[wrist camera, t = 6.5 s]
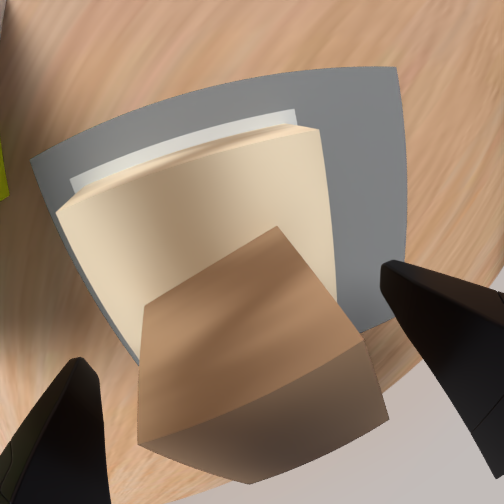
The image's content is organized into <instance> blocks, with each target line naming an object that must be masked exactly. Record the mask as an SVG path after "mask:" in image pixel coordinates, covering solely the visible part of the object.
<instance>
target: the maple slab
mask: <svg viewBox="0 0 504 504" xmlns="http://www.w3.org/2000/svg"><path fill="white" fill-rule="evenodd" d="M56 215H57V217H58V220H59V222H60V224H61V226H62V229H63V231H64V233H65V235H66V237H67V239H68V241H69V243H70V245H71V248H72V250H73V252H74V254H75V256H76V258H77V259H78V261H79V263H80V265H81V267H82V269H83V271H84V273H85V275H86V276H87V278H88V280H89V282H90V284H91V285H92V287H93V289H94V291H95V292H96V294H97V296H98V298H99V299H100V301H101V303H102V304H103V306H104V308H105V309H106V311H107V313H108V314H109V316H110V317H111V319H112V320H113V322H114V324H115V325H116V327H117V328H118V330H119V331H120V333H121V334H122V336H123V337H124V339H125V340H126V342H127V343H128V345H129V346H130V348H131V349H132V350H133V352H134V353H135V355H136V356H137V357H138V359H139V360H140V346H141V334H142V323H143V313H144V306H145V305H146V304H148V303H150V302H151V301H153V300H154V299H156V298H158V297H159V296H161V295H163V294H164V293H166V292H167V291H169V290H171V289H172V288H174V287H176V286H177V285H179V284H181V283H182V282H184V281H186V280H187V279H189V278H190V277H192V276H194V275H195V274H197V273H199V272H200V271H202V270H204V269H205V268H207V267H209V266H210V265H212V264H214V263H215V262H217V261H219V260H220V259H222V258H224V257H225V256H227V255H229V254H230V253H232V252H233V251H235V250H237V249H238V248H240V247H242V246H243V245H245V244H247V243H248V242H250V241H252V240H253V239H255V238H257V237H259V236H260V235H262V234H264V233H265V232H267V231H269V230H270V229H272V228H274V227H275V226H278V227H279V229H280V230H281V231H282V232H283V234H284V235H285V236H286V237H287V239H288V240H289V241H290V242H291V244H292V245H293V246H294V248H295V249H296V250H297V251H298V253H299V254H300V255H301V256H302V258H303V259H304V260H305V262H306V263H307V264H308V265H309V267H310V268H311V269H312V271H313V272H314V273H315V275H316V276H317V277H318V278H319V280H320V281H321V282H322V284H323V285H324V286H325V288H326V289H327V290H328V292H329V293H330V294H331V296H332V297H333V298H334V299H335V301H336V302H337V290H336V272H335V258H334V245H333V233H332V223H331V213H330V204H329V195H328V187H327V179H326V171H325V164H324V157H323V150H322V144H321V138H320V132H319V129H314V128H309V127H303V126H298V125H292V124H286V123H284V124H279V125H274V126H270V127H265V128H261V129H256V130H252V131H248V132H244V133H239V134H236V135H232V136H228V137H224V138H220V139H217V140H213V141H209V142H206V143H202V144H199V145H196V146H192V147H189V148H186V149H182V150H179V151H176V152H173V153H170V154H167V155H164V156H161V157H158V158H155V159H152V160H149V161H146V162H144V163H141V164H138V165H135V166H133V167H130V168H127V169H125V170H122V171H120V172H117V173H114V174H112V175H109V176H107V177H105V178H102V179H100V180H97V181H95V182H93V183H90V184H88V185H86V186H84V187H83V188H82V189H80V190H79V191H78V192H77V193H76V194H75V195H74V196H73V197H72V198H70V199H69V200H68V201H67V202H66V203H65V204H64V205H63V206H62V207H61V208H60V209H59V210H58V211H57V212H56Z"/></svg>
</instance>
